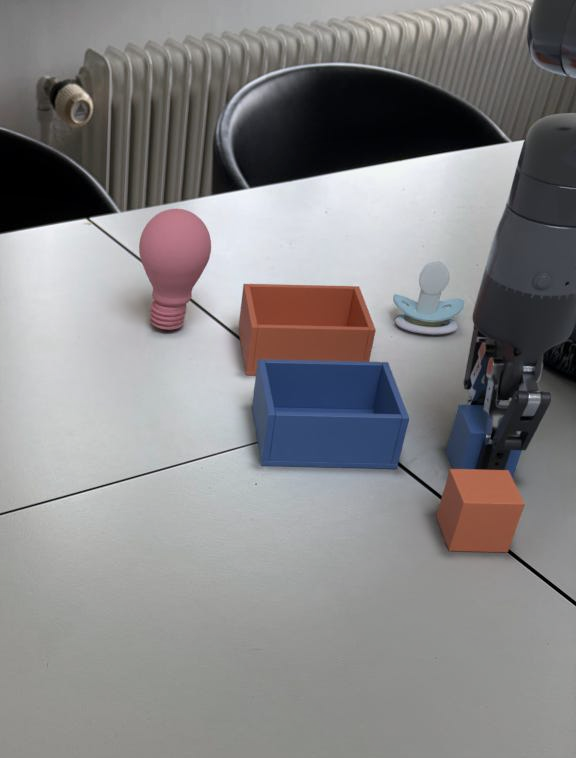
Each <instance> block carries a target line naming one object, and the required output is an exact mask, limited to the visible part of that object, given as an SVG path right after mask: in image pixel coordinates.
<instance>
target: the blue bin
mask: <svg viewBox="0 0 576 758" xmlns="http://www.w3.org/2000/svg"><path fill="white" fill-rule="evenodd" d="M252 394H253V395H252V402H251V403H252V404H251V413H252V418H253V425H254V430H255V437H256V442H257V449H258V453H259V460H260V465H261V466H262V467H263V466H265V467H269V466H270V467H305V468H306V467H307V468H343V469H344V468H345V469H346V468H349V469H388V470H389V469H390V470H395V469H396V470H397V469H398V466H399V464H400V463H399V462H400V458H401V455H402V450H403V446H404V442H405V439H406V434H407V430H408V426H409V421H410V415H409V413H408V410H407V408H406V406H405V402H404V400H403V398H402V395H401V393H400V390H399V387H398V385H397V382H396V379H395V377H394V374H393V371H392V369H391V366H390V363H389V361H369V362H356V361H312V360H269V359H265V360H264V359H258V363H257V371H256V375H255V378H254V388H253V393H252Z"/></svg>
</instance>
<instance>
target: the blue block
mask: <svg viewBox="0 0 576 758" xmlns="http://www.w3.org/2000/svg"><path fill="white" fill-rule="evenodd" d="M483 408H484V405H467V404H458V405H457V409H456V412H455V416H454V420H453V423H452V426H451V430H450V434H449V438H448V440H447V444H446V448H445V452H446V455H447V457H448V461H449V462H450V465H451V467H452V469H475V467H476V464H477V461H478V457H479V454H480V451H481V448H482V444H483V441H484V436H485V432H486V426H487V421H488V415H487V414H486V413H485V412H484V410H483ZM502 418H503V417H501V418H500V419H499V421H498V427H499V424H500V422H501V420H502ZM498 427H497V429H498ZM522 452H523V450H511V452H510V455H509V458H508V461H507V464H506V467H505V470H509V472H510V474H511V476H512V479H514V475H515V472H516V469H517V467H518V463H519V460H520V458H521V455H522Z"/></svg>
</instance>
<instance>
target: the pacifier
mask: <svg viewBox="0 0 576 758" xmlns="http://www.w3.org/2000/svg"><path fill="white" fill-rule="evenodd" d="M449 281H450V270H449V268H448V267H447V265H446V264H445V263H443V262H441V261H431V262H428V263H427V264H426V265H425V266H424V267H423V268H422V270H421V271H420V273H419V277H418V285H419V289H420V292H419V294H418V299H417V300H414V299H411V298H409V297H407V296H404V295H402V294H397V293H394V294H393V295H392V301H393V303H394V305H395V306H396V308H398V309H399V310H400V311H401V313H403V314H401V315H398V316H397V317H396V318H395V319H394V323H395V324H396V325H397V326H398V327H399V328H401V329H403V330H405V331H408V332H411V333H416V334H423V335H446V334H451V333H453V332H455V331H456V330H458V329H459V328H458V327H459V325H458V323H457V322H456V321H455V320H453V318H455V317H456V316H458V315H459V314H460V313H461V312H462V311H463V309H464V308H465V304H466V302H465V300H464V299H462V298H448V299H443V300H441V295H442V292H443V291H445V289H446V288H447V286H448V284H449ZM442 324H444V325H442ZM441 325H442V326H441Z"/></svg>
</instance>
